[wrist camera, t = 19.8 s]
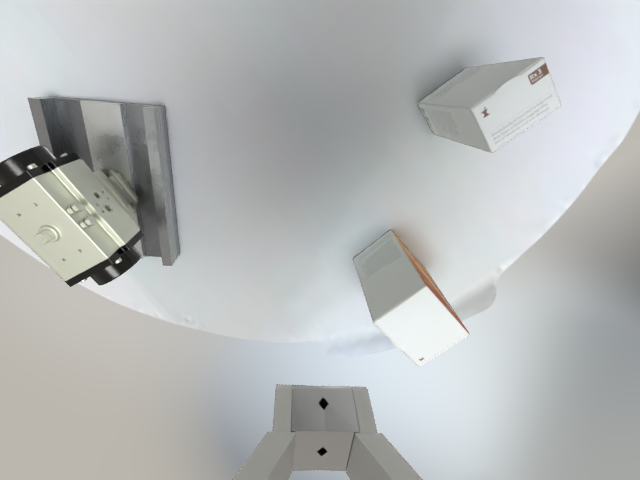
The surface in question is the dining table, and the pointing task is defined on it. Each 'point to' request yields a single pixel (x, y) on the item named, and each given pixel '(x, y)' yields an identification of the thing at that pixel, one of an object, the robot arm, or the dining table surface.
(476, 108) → the skincare box
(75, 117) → the rail plate
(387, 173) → the dining table surface
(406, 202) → the dining table surface
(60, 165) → the pneumatic valve
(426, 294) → the small box
